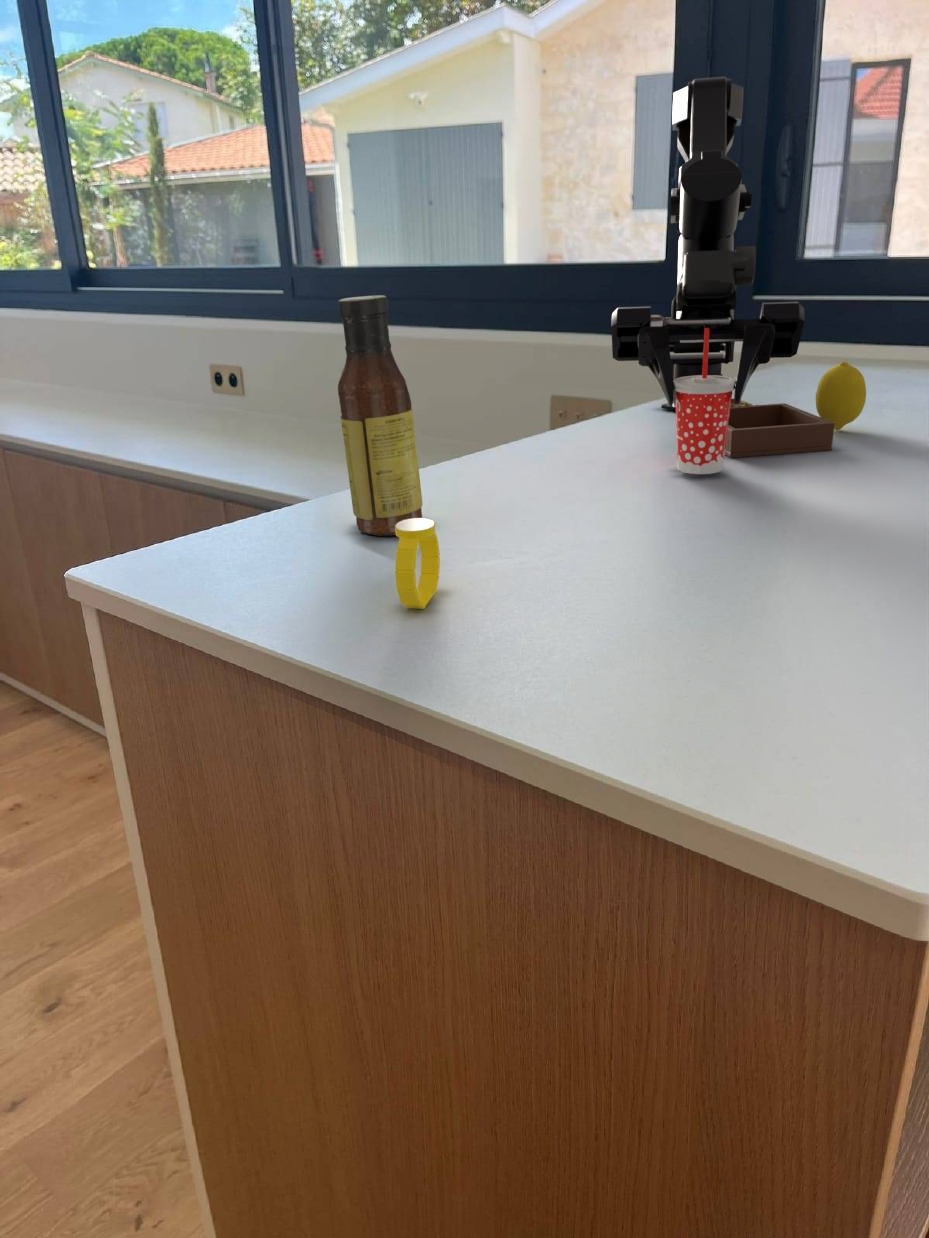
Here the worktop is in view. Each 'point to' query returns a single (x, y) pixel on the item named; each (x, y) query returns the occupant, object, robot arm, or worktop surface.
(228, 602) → the worktop surface
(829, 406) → the lemon
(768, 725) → the worktop surface
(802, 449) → the tray
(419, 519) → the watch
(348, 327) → the sauce bottle
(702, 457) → the beverage cup
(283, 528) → the worktop surface
